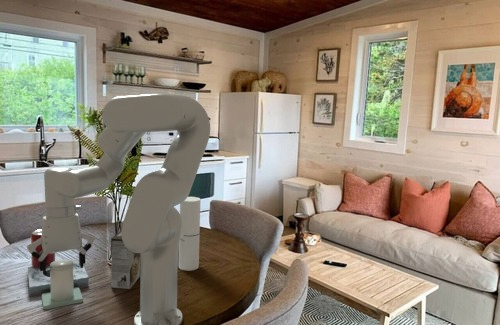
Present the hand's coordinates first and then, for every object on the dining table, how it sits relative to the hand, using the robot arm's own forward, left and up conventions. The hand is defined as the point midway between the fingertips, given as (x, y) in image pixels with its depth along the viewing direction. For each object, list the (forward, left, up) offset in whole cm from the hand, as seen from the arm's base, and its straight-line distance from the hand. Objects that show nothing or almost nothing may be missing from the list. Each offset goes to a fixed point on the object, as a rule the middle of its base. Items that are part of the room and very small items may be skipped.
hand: (63, 269), depth 110 cm
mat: (0, 0, -9) cm, 9 cm away
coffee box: (+4, -19, -10) cm, 21 cm away
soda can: (+30, +3, -9) cm, 32 cm away
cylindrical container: (+7, -42, -9) cm, 43 cm away
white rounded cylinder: (0, 0, -8) cm, 8 cm away
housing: (+14, 0, -9) cm, 17 cm away
